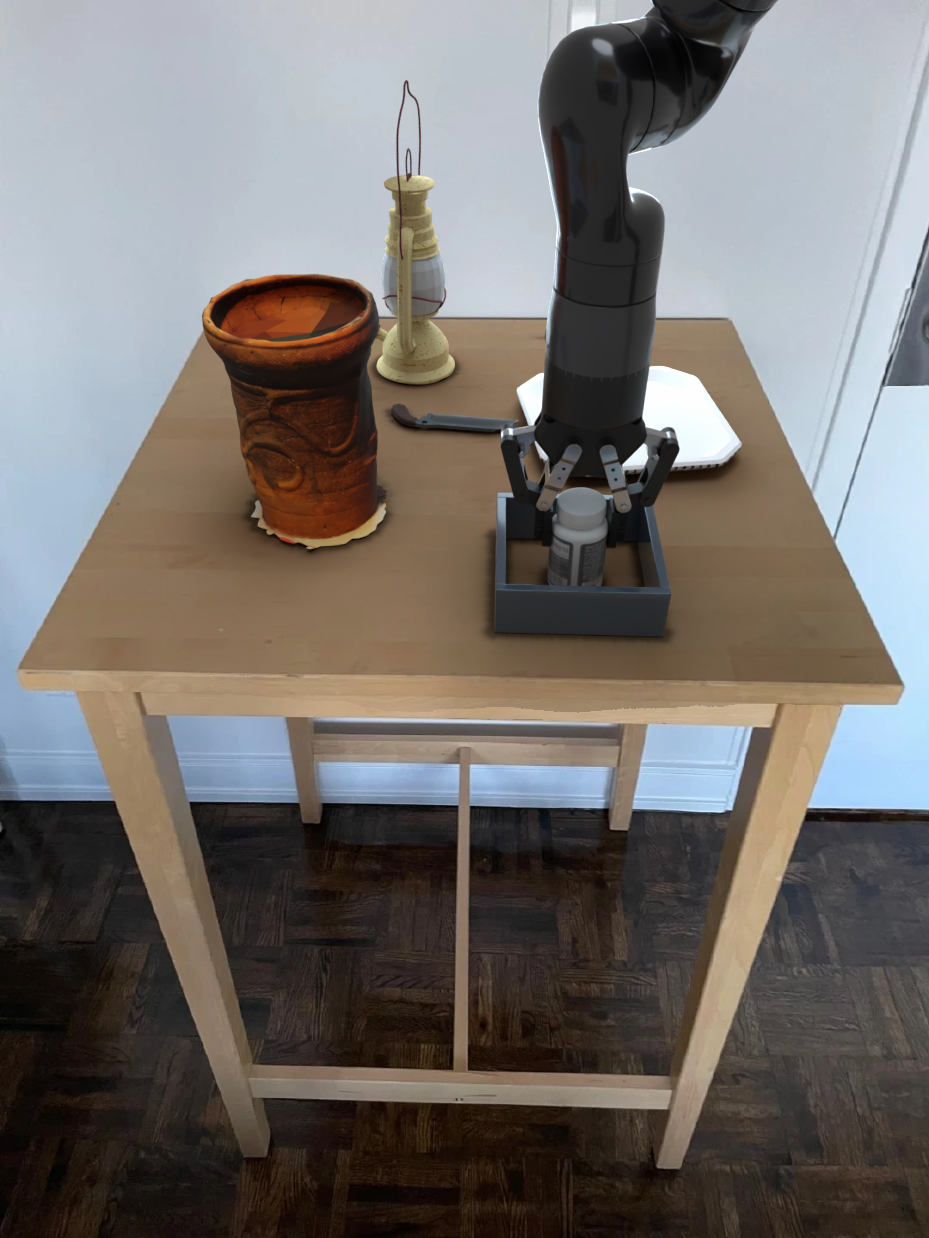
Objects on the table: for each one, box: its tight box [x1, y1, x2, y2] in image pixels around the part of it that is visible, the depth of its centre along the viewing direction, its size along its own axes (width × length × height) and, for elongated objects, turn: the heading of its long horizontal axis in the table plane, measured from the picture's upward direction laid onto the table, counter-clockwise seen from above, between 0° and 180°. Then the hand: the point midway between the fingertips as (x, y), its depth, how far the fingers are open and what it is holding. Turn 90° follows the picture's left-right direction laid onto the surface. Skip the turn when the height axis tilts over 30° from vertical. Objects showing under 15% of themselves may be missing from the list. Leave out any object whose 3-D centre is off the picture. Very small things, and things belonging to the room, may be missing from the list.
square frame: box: [493, 492, 672, 638], centre depth 80 cm, size 14×14×4 cm
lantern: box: [375, 79, 456, 385], centre depth 101 cm, size 12×10×30 cm
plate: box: [516, 365, 742, 478], centre depth 99 cm, size 21×21×2 cm
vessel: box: [201, 273, 388, 550], centre depth 83 cm, size 14×14×20 cm
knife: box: [390, 403, 520, 433], centre depth 101 cm, size 14×4×1 cm, turn 81°
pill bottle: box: [546, 487, 608, 586], centre depth 78 cm, size 5×5×8 cm
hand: (578, 540), depth 78 cm, fingers closed on pill bottle, 4 cm apart
